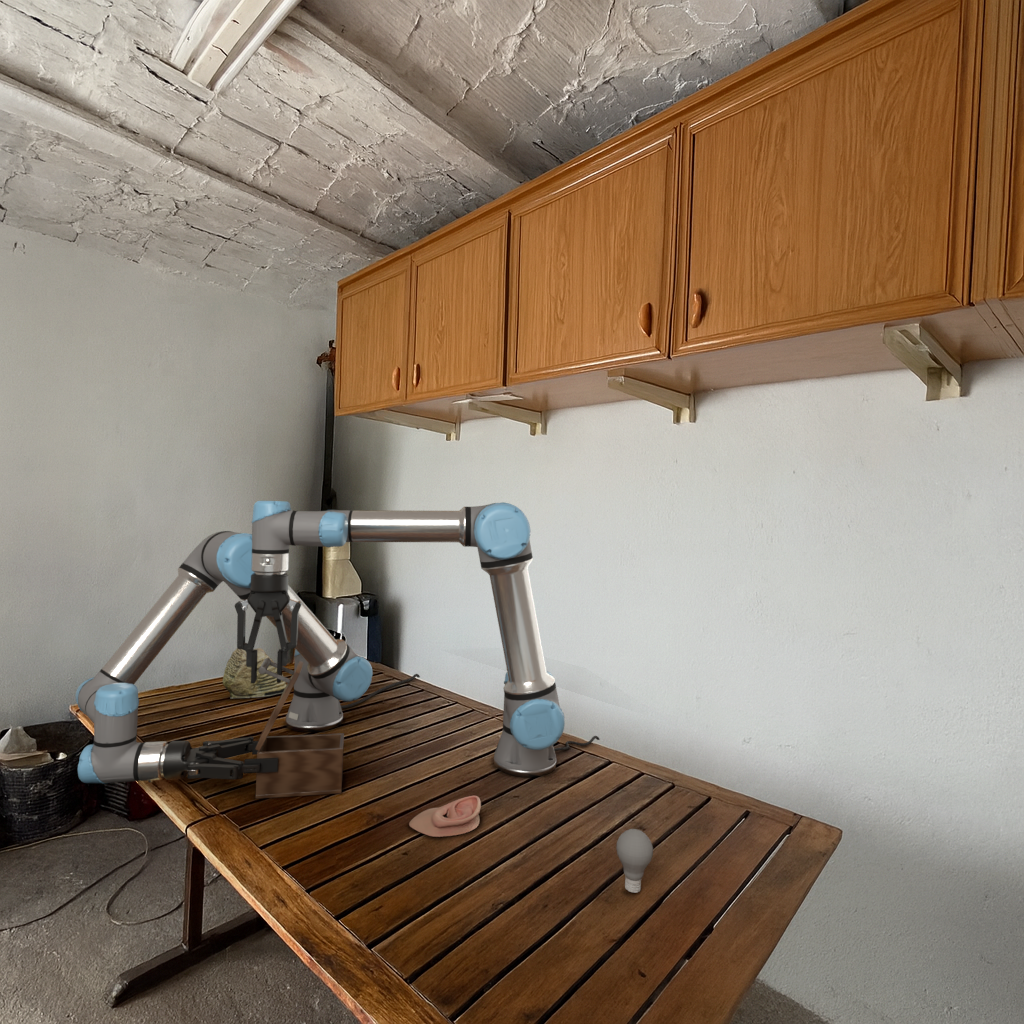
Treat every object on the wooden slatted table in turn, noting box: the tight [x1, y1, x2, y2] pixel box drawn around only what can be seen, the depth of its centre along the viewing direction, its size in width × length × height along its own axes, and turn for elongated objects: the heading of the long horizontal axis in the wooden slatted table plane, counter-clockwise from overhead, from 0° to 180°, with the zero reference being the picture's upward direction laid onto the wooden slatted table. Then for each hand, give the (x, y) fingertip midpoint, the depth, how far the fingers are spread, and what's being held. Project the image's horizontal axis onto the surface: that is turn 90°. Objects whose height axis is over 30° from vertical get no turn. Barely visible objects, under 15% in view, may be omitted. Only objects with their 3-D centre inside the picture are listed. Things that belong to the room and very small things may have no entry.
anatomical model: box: [408, 795, 482, 838], centre depth 125 cm, size 13×4×12 cm
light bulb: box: [615, 828, 654, 894], centre depth 106 cm, size 6×6×10 cm
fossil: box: [222, 647, 287, 699], centre depth 198 cm, size 9×18×15 cm, turn 132°
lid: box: [255, 657, 303, 751], centre depth 136 cm, size 18×9×8 cm
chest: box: [255, 732, 345, 800], centre depth 138 cm, size 17×9×10 cm, turn 103°
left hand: (280, 755), depth 137 cm, fingers closed on chest, 9 cm apart
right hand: (266, 680), depth 136 cm, fingers open, 4 cm apart
